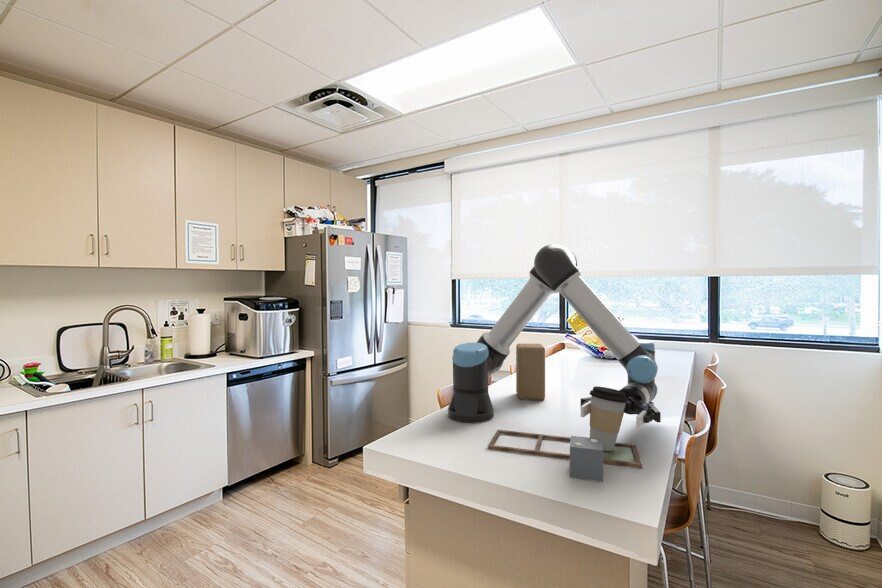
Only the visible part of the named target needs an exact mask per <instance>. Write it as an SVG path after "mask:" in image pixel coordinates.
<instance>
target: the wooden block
mask: <svg viewBox="0 0 882 588" xmlns="http://www.w3.org/2000/svg"><path fill="white" fill-rule="evenodd" d="M515 348H516V349H515V355H516V358H515V360H516V361H515V364H516V365H515V367H516V368H515V370H516V371H515V373H516V374H515V375H516V377H515V378H516V380H515V386H516V387H515V389H516V390H515V391H516V394H517V398H518V399H519V400H521V399H530V400H529V401H532V400H533V401H544V400H545V399H546V349H545V347H544V346H543V345H542V344H540V343H517V344H516V346H515Z"/></svg>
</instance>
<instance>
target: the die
mask: <svg viewBox="0 0 882 588" xmlns="http://www.w3.org/2000/svg"><path fill="white" fill-rule="evenodd" d="M570 437H571V439H570V442H569V454H570V459H569V478H572V479H579V480H580V479H581V480H587V481H594V482H601V483H603V482H604V463H603V444H602V439H597V438H590V437H587V436H586V437H585V436H577V435H570Z"/></svg>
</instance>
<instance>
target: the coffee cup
mask: <svg viewBox="0 0 882 588" xmlns="http://www.w3.org/2000/svg"><path fill="white" fill-rule="evenodd" d="M619 390H620V389H619ZM619 390H618V389H614V388H610V387H605V386H593V387H592V389H591V390H590V392H589V395H590V397H591V405H590V413H589V438H597V439H602V444H603V450H604V451H613V450H614V446H615V443H617V442H616V441H617V439H618V435H619V433H620V429H621V425H622V422H623V418H624V414H625V413H624V408H625V404H626V403H627V402H628V401H627V400H628V399H627V398H626V394H625V393H624V392H622V391H619Z"/></svg>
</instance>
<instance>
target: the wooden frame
mask: <svg viewBox="0 0 882 588" xmlns="http://www.w3.org/2000/svg"><path fill="white" fill-rule="evenodd" d="M500 435H509V436H516V437H517V436H518V437H525V438H536V439H537V440H536V441H537V442H536V445H535V448H534V449H527V448H520V447H511V446H504V445H495V444H496V442H497V441H498V439H499V438H500ZM543 439H545V440H550V441H551V440H554V441H562V442H569V443H570V439H571V436H569V437H568V436H559V435H552V434H551V435H550V434H544V433H542V434H541V433H534V432H533V433H532V432H524V431H516V430H515V431H514V430H505V429H497V430H496V432H495V433H494V435H493V437H492V439H491V440H490V442H489V444H488V445H487V449H488V450H494V451H502V452H510V453H517V454H525V455H526V454H527V455H534V456H540V457H541V456H542V457H548V458H549V457H550V458H558V459H565V460H570V453H569V454H567V453H562V452H561V453H560V452H552V451H544V450H541V446H542V443H543ZM604 464H605V465H613V466H618V467H619V466H620V467H627V466H629V467H630V468H635V467H638V468H637V469H643V463H642V459H641V457H640V454H639V450H638V447H637V444H633V443H625V442H616V443H615V446H614V450H613V451H604V450H603V465H604ZM629 467H628V468H629Z"/></svg>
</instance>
